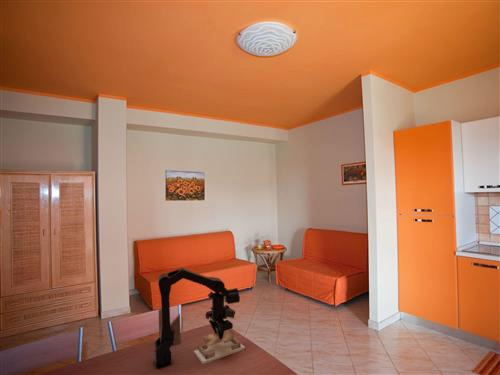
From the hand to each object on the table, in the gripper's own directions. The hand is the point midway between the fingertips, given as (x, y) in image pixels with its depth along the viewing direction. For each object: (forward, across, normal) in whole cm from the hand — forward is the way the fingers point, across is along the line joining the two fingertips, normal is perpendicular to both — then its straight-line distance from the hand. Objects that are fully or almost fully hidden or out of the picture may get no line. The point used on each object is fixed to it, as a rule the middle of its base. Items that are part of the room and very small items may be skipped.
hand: (219, 337), depth 142 cm
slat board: (+6, 0, 0) cm, 6 cm away
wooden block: (+7, +22, +18) cm, 29 cm away
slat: (+2, 0, 0) cm, 2 cm away
